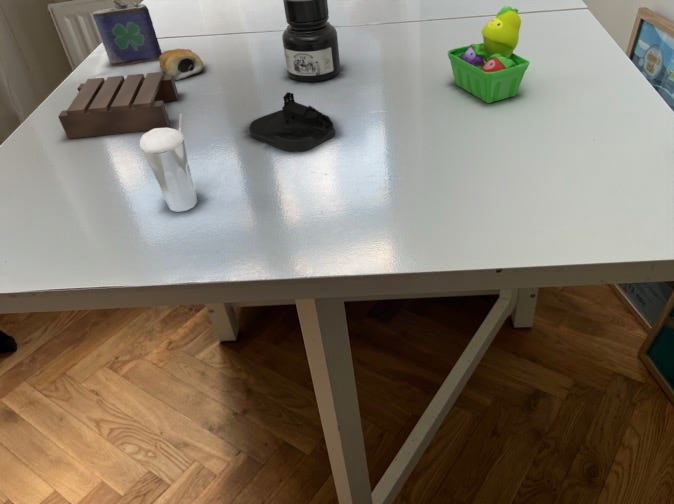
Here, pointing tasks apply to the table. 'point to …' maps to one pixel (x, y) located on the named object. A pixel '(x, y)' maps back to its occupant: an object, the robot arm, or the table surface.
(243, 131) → the table surface
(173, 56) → the pastry
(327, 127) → the black miniature model
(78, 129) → the rack
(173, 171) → the milkshake
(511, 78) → the fruit basket
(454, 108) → the table surface
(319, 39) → the ink bottle
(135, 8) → the flask
